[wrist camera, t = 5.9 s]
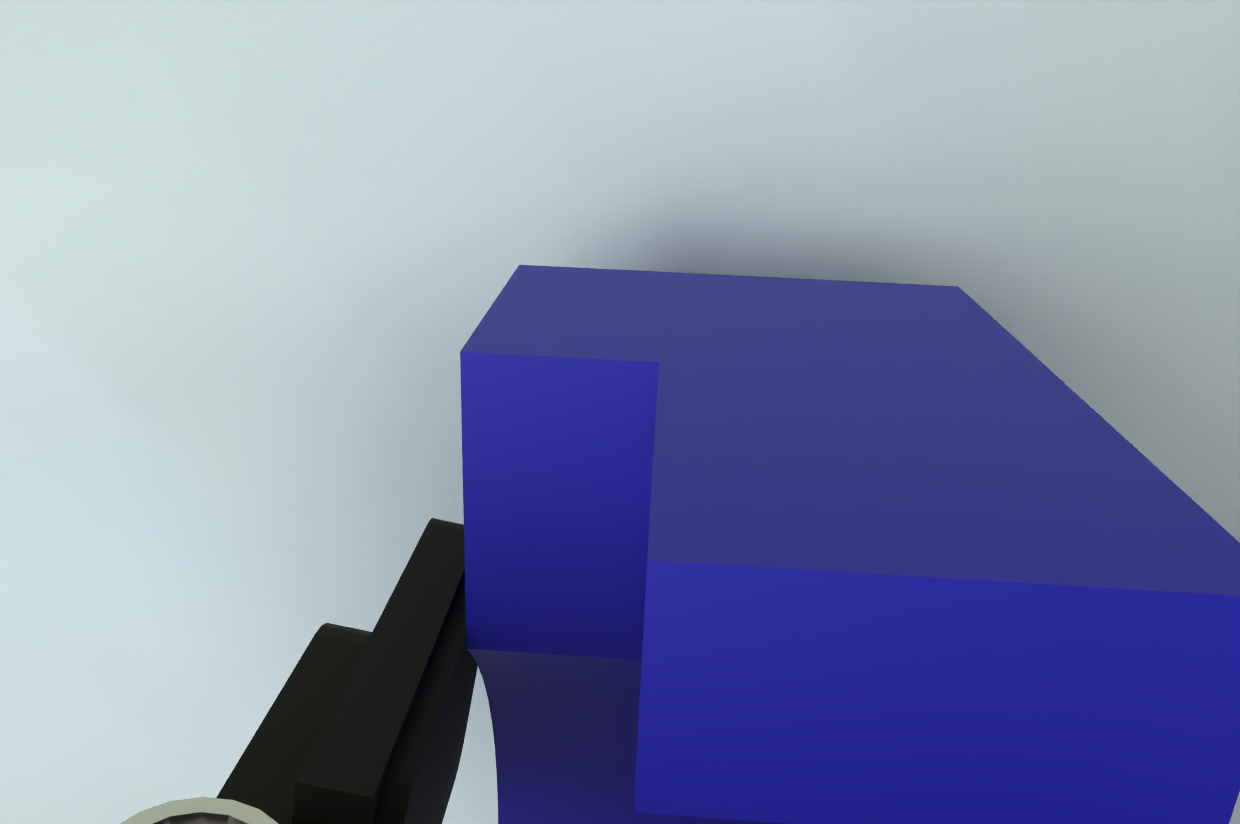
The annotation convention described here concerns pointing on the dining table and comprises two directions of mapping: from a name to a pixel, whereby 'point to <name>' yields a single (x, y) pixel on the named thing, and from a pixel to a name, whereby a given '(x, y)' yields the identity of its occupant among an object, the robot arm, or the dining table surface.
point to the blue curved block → (826, 567)
